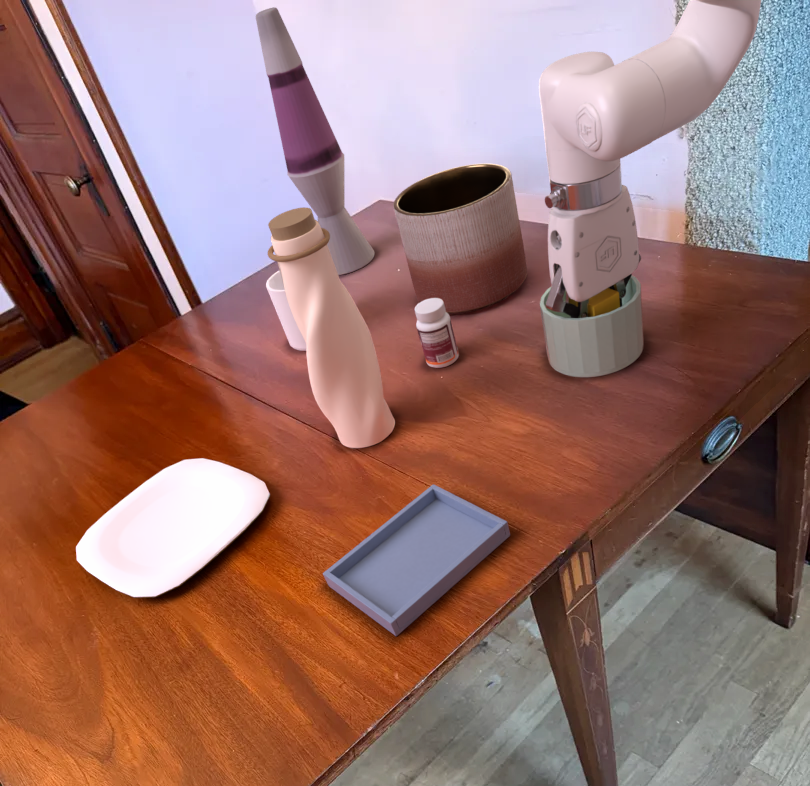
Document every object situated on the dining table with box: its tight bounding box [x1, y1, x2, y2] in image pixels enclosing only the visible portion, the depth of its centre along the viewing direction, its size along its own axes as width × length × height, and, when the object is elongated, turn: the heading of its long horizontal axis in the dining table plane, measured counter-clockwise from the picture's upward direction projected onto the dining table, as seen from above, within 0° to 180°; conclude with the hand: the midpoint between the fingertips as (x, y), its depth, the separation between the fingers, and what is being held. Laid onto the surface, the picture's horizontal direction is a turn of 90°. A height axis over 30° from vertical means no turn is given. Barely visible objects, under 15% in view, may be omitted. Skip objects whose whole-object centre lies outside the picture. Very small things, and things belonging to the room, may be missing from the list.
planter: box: [392, 163, 528, 315], centre depth 113 cm, size 18×18×16 cm
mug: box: [265, 270, 307, 352], centre depth 118 cm, size 13×10×10 cm
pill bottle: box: [414, 298, 460, 369], centre depth 102 cm, size 5×5×8 cm
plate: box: [75, 457, 271, 599], centre depth 92 cm, size 22×22×2 cm
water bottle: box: [267, 207, 396, 449], centre depth 89 cm, size 10×9×28 cm
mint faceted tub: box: [539, 275, 644, 378], centre depth 94 cm, size 12×12×8 cm
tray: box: [322, 483, 511, 637], centre depth 77 cm, size 16×11×2 cm
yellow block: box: [576, 288, 620, 317], centre depth 92 cm, size 4×4×6 cm
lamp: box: [255, 6, 376, 276], centre depth 126 cm, size 11×11×40 cm
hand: (598, 333), depth 94 cm, fingers closed on yellow block, 4 cm apart
